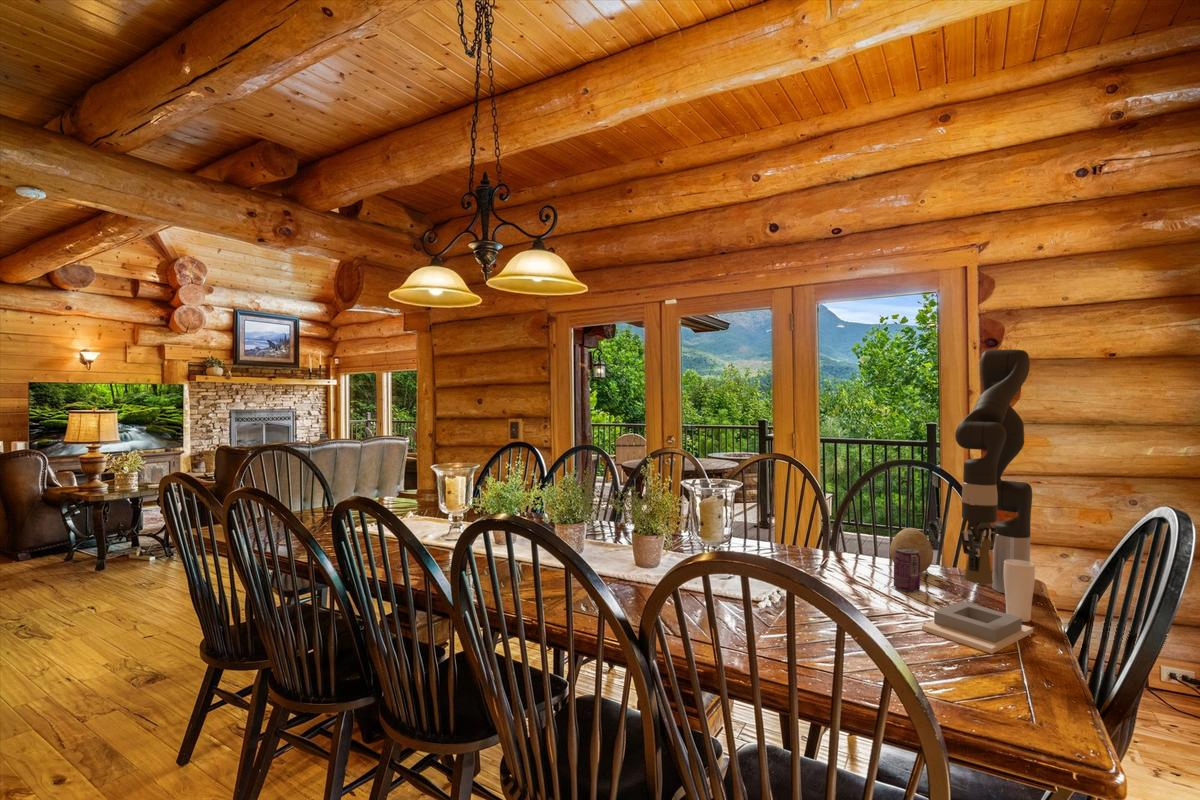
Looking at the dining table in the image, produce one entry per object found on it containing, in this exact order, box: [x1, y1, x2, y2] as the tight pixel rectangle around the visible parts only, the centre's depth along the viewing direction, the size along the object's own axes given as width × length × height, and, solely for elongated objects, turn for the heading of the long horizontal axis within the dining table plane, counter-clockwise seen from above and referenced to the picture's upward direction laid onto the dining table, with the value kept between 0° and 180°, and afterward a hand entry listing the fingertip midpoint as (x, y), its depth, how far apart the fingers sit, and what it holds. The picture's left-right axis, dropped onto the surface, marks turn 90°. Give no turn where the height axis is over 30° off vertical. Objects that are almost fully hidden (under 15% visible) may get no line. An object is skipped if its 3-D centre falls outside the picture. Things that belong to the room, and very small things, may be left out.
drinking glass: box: [1004, 559, 1036, 623], centre depth 157 cm, size 7×7×15 cm
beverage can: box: [893, 547, 921, 593], centre depth 180 cm, size 7×7×12 cm
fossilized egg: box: [889, 527, 934, 574], centre depth 196 cm, size 13×13×15 cm
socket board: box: [921, 600, 1034, 655], centre depth 148 cm, size 22×16×4 cm
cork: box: [963, 537, 993, 585], centre depth 148 cm, size 6×6×11 cm
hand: (978, 569), depth 148 cm, fingers closed on cork, 3 cm apart
